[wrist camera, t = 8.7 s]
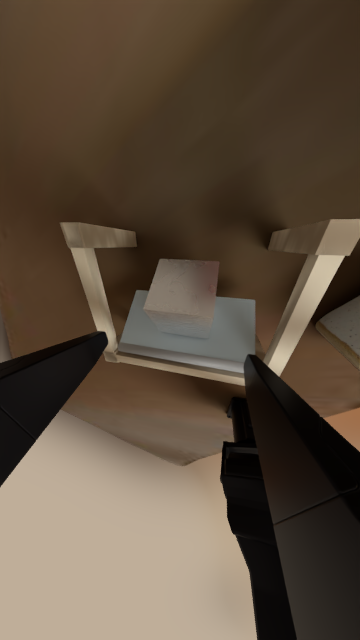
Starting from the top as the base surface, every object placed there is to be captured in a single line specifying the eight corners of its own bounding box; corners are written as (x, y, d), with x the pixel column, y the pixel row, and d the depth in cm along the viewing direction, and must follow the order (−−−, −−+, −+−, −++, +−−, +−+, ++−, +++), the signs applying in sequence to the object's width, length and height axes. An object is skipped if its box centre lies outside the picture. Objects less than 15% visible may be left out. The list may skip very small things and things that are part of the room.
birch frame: (252, 342, 20) (272, 393, 13) (137, 326, 23) (106, 360, 16) (290, 232, 13) (369, 219, 7) (123, 231, 17) (59, 222, 10)
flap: (251, 374, 13) (255, 375, 12) (122, 351, 16) (116, 350, 15) (251, 304, 16) (255, 299, 15) (140, 294, 18) (136, 289, 17)
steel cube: (208, 339, 14) (213, 317, 9) (160, 332, 14) (143, 309, 10) (213, 296, 15) (219, 261, 11) (170, 292, 16) (160, 258, 12)
